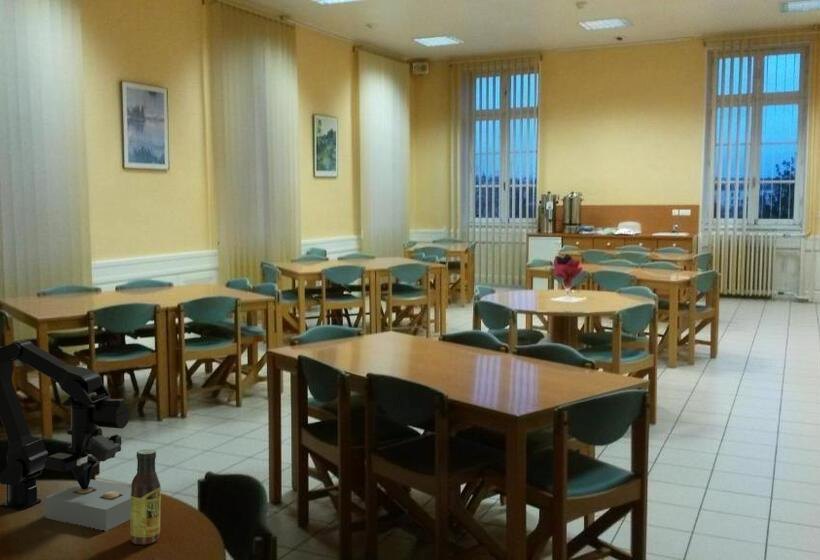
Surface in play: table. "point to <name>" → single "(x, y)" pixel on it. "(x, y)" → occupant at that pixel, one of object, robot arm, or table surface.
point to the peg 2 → (111, 495)
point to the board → (91, 506)
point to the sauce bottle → (145, 500)
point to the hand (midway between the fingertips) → (84, 488)
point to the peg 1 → (86, 491)
